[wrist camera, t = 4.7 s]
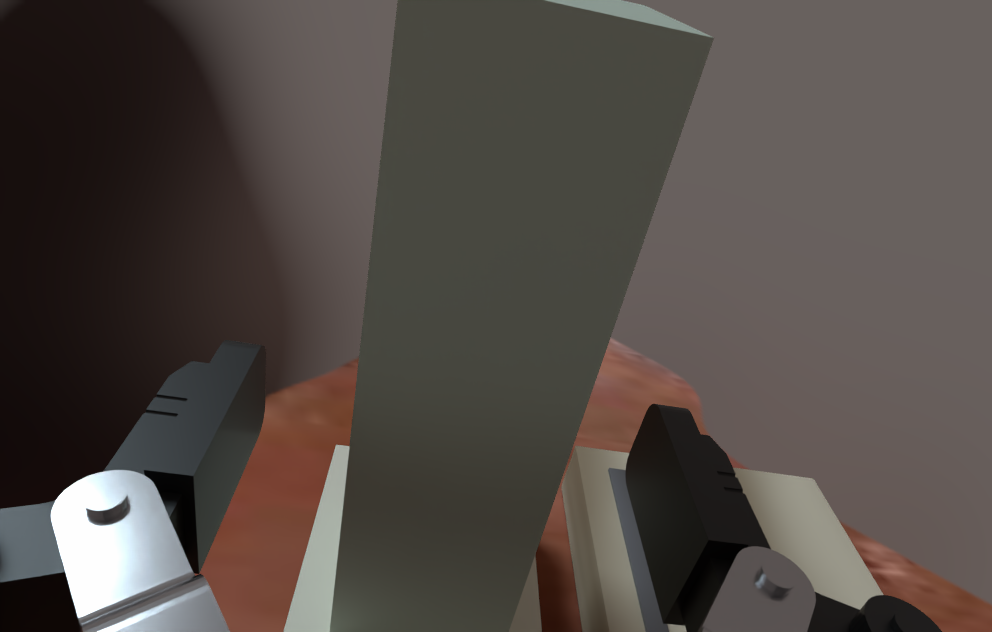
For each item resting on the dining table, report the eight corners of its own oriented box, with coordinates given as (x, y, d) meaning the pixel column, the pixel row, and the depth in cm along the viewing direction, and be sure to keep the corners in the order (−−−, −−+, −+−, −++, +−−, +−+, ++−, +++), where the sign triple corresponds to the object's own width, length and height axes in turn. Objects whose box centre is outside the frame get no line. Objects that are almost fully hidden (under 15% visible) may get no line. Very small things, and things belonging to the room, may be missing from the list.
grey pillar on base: (511, 524, 21) (670, 6, 13) (526, 802, 15) (865, 86, 7) (331, 501, 21) (383, -59, 13) (257, 782, 14) (269, -45, 6)
